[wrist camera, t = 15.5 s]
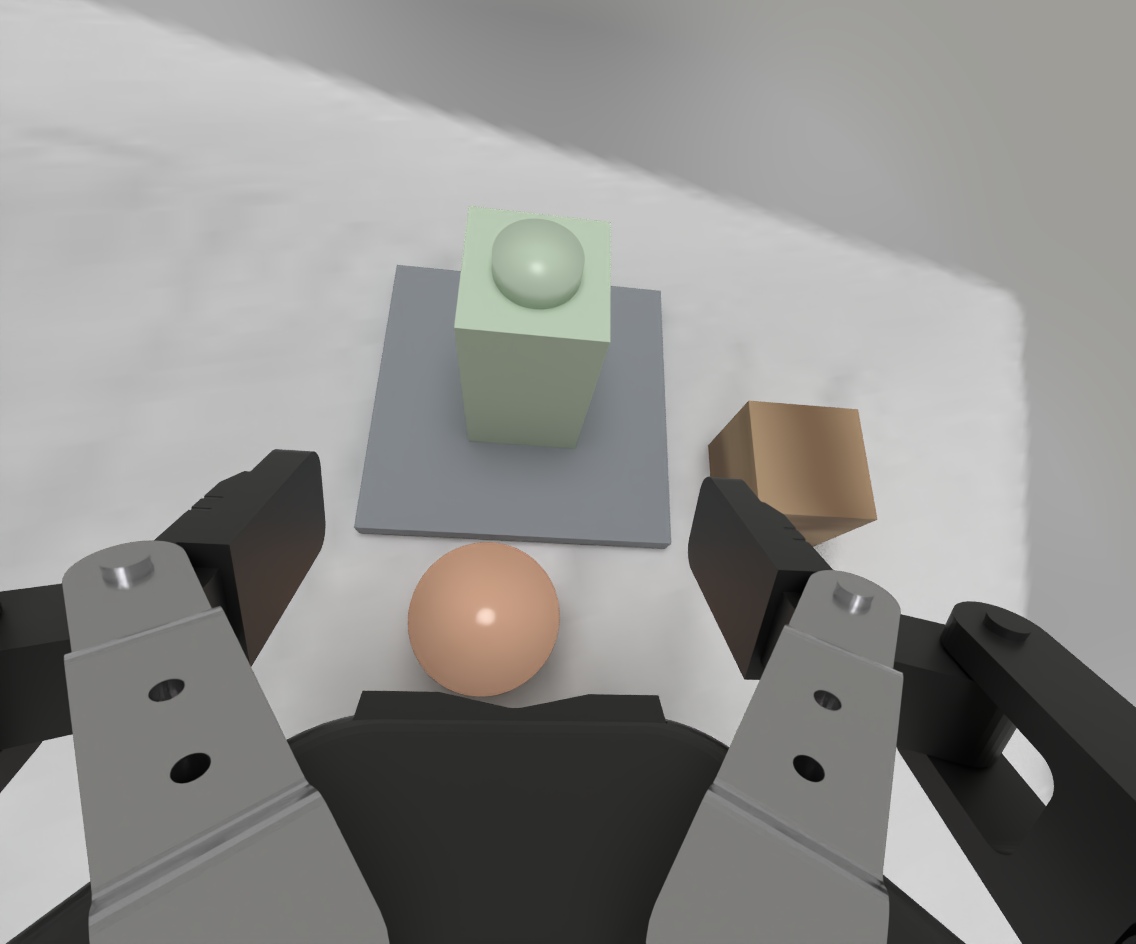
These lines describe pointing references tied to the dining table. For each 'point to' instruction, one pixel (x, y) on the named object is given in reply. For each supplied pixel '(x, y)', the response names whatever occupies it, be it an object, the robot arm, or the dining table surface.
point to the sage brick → (531, 324)
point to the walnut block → (800, 464)
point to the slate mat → (508, 471)
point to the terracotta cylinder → (483, 619)
